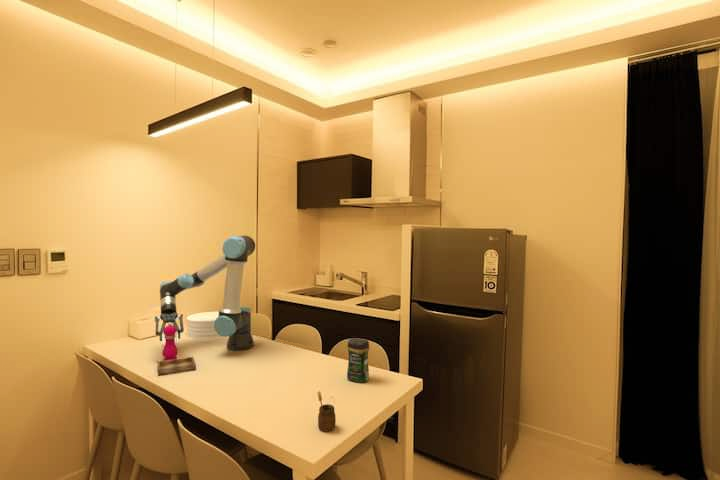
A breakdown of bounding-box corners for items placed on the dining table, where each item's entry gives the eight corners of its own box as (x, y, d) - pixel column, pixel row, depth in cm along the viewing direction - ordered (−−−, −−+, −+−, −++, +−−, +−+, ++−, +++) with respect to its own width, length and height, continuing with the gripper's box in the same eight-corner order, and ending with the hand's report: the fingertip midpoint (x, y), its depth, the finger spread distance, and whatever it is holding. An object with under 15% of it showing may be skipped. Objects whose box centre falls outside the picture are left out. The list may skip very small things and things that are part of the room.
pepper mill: (171, 363, 194) (171, 324, 194) (159, 362, 196) (158, 323, 195) (181, 359, 201) (180, 321, 201) (168, 358, 203) (168, 320, 202)
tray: (193, 362, 196) (192, 356, 196) (195, 370, 186) (195, 363, 186) (157, 367, 189) (157, 361, 189) (158, 376, 178) (158, 369, 178)
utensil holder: (330, 433, 128) (330, 398, 128) (314, 429, 131) (314, 394, 131) (338, 425, 134) (338, 391, 133) (322, 421, 136) (322, 388, 136)
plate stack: (177, 338, 241) (177, 320, 240) (202, 327, 268) (202, 310, 268) (218, 340, 236) (218, 322, 236) (240, 329, 264) (240, 312, 263)
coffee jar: (344, 380, 174) (344, 339, 173) (353, 374, 181) (353, 335, 180) (363, 384, 169) (363, 342, 168) (371, 378, 176) (371, 338, 175)
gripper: (186, 309, 216) (190, 346, 202) (148, 312, 207) (149, 351, 193) (187, 301, 211) (191, 338, 197) (148, 304, 202) (149, 343, 188)
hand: (170, 344), depth 195 cm, fingers closed on pepper mill, 6 cm apart
